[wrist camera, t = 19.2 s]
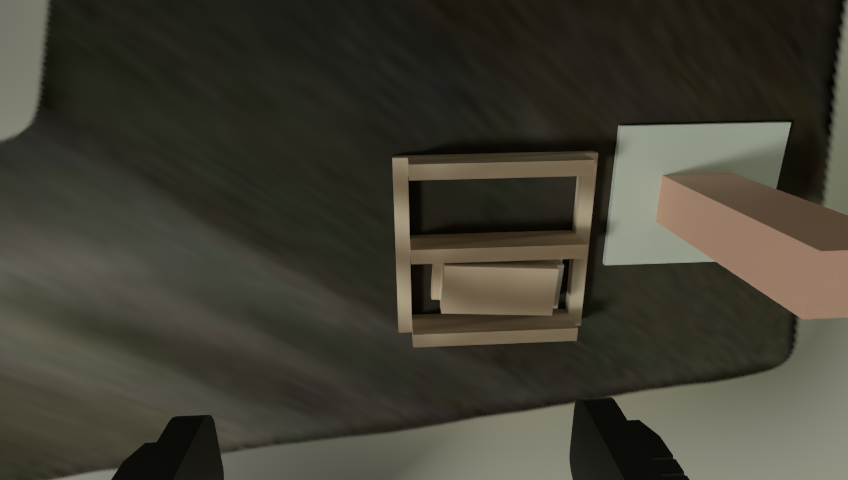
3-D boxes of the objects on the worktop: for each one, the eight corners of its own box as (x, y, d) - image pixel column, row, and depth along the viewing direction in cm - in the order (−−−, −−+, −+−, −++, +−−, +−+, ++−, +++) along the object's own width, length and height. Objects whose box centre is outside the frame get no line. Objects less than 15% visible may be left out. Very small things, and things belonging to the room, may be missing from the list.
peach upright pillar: (662, 175, 43) (820, 251, 27) (733, 173, 43) (931, 246, 27) (655, 221, 44) (802, 319, 28) (724, 218, 45) (908, 314, 29)
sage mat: (618, 125, 42) (621, 126, 41) (786, 121, 42) (791, 122, 42) (602, 263, 46) (604, 265, 45) (756, 257, 47) (759, 259, 46)
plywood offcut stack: (433, 246, 45) (437, 265, 41) (558, 249, 46) (573, 268, 42) (430, 292, 46) (434, 315, 42) (551, 294, 47) (565, 317, 43)
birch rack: (392, 155, 42) (392, 165, 38) (593, 150, 42) (610, 159, 39) (398, 327, 47) (398, 348, 44) (576, 319, 48) (590, 340, 44)
